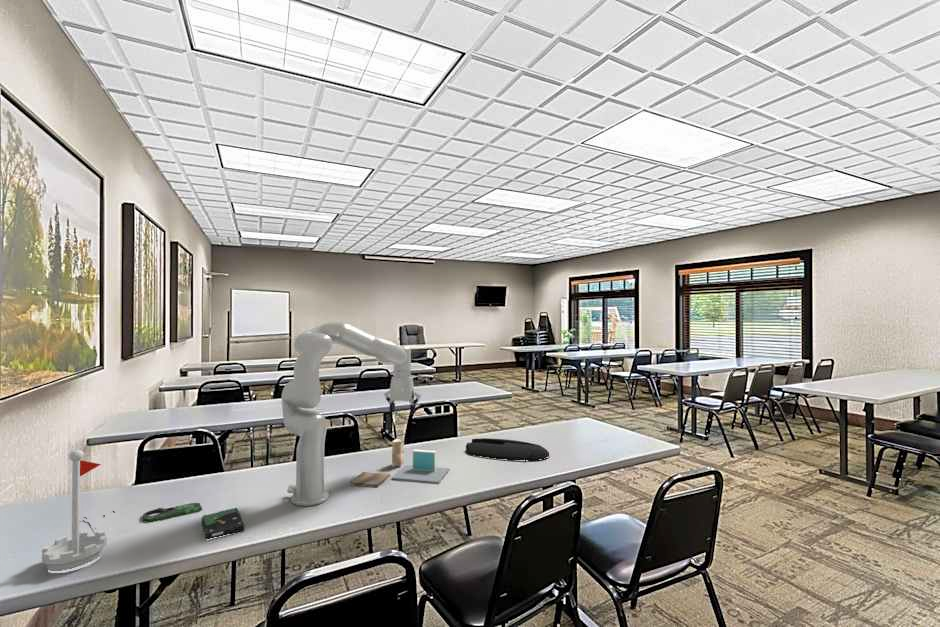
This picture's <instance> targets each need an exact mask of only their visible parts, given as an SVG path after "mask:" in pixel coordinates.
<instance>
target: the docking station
mask: <svg viewBox="0 0 940 627" xmlns="http://www.w3.org/2000/svg"><path fill="white" fill-rule="evenodd" d="M465 451H466V453H467V454H468V453H469V454H470V455H469V454H468V455H469V456H471V455H475V456H474V457H476V456H482V457H489V458H496V459H507V460H525V461H526V460H539V459H544V458H546V457H548V456H549V454H550V453H549V451H548V450H547V449H546V448H545V447H543V446H542V445H540V444H536V443H532V442H526V441H520V440H513V439H505V438H504V439H503V438H489V437H488V438H487V437H485V438H484V437H483V438H482V437H481V438H472V439H471V442H467V443H466V444H465ZM482 457H481V458H482ZM549 457H550V456H549ZM496 459H495V460H496Z"/></svg>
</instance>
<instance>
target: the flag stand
mask: <svg viewBox="0 0 940 627" xmlns="http://www.w3.org/2000/svg"><path fill="white" fill-rule="evenodd" d="M68 457H69V460H70V461H72V475H71V477H72V479H71V481H72V482H71V484H72V485H71V492H72V493H71V538H68V536H66V535H65V536H62V537H59V538H57V539H54V543H53V545H52V544H45V546H43V547H42V549H41V562H42V563H44V564H46V570H47V569H48V570H50V571H62V570H67V569H72V568H75V567H78V566H81V565H84V564H86V563H88V562H91V561H93V560H95V559H97V558H98V557H100V556H101V554H102V553H103V551H102V550H103V549H104V548H105V547H106V546H107V543H108V540H107V538H108V537H107V536H108V535H107V534H106V532H105V531H103V530H96V532H95V533H94V534H90V530H89V531H85V530H84V531H80V521H79V520H80V519H79V516H80V502H81V501H80V499H81V498H80V497H81V496H80V495H81V494H80V493H81V485H80V484H81V481H80V480H81V477H82V476H84V475H85V474H87V473H89V472H91V471H92V470H94V469H96V468H97V467H99V466H101V465H102V464H101V463H96V462H92V461H86V460H82V459H83V457H84V452H83V451H82V450H80V449H75V450H72V451H71V452H70V453H69V455H68ZM101 557H102V556H101Z"/></svg>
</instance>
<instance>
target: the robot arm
mask: <svg viewBox="0 0 940 627" xmlns="http://www.w3.org/2000/svg"><path fill="white" fill-rule="evenodd" d="M333 344H335V345H339V346H342V347H344V348H346V349H349V350H351V351H354V352H355V353H358V354H360V355H364V356H368V357H369V356H370V357H375V359H376V361H377V362H378V363H379V364H382V365H392V366H393V370H392V371H390V374H391V375H393V376H392V377H391V380H390V386H389V390H388V391H386V392H384V393H383V395H384V396H385V400H386V401H387V402H388V404H389V413H390V414H393V413H394V412H396V402H397V401H398V402H408V403H409V404H410V405H409V415H411V416H412V415H414V414H416V405H417V404H418V402H419V401H420V399H421V397H422V394H420V393H418V392H417V391H415V384H414V379H413V377H412V355H411V354H412V350H411V347H410V346H407V345H398V344H395V343H394V342H391V341H390V340H389V341H388V340H385V339H383V338H380V337H378V336H374V335H371V334H369V333H367V332H364V330H361V329H358V328H357V327H355V326H353V325H351V324H348V323H346V322H341V321H340V322H339V321H329V322H326V323H322V324H321V325H318V326H315V327H313V328H311V329H308V330H306V331H304V332H301V333H300V334H298V335H297V336H296V337H295V340H294V342H293V347H294V349H295V351H296V352H297V353H298V354H299V355H298V356H297V357H296V359H295V362H294V365H293V366H294V367H293V380H291V381H288V382H287V383H286V384H285V385H284V387H283V389H282V393H281V406H282V408H281V409H282V417H283V424H284V427H285V430H286V431H287V432H288V433H290V434H293V435H295V436H298V437H299V440H298V442H297V446H296V453H295V454H296V455H295V457H296V460H295V461H296V462H295V463H296V465H295V466H296V468H295V469H296V470H295V472H296V474H295V476H296V477H295V478H296V480H295V482H296V483H295V485H293V484H289V486H288V488H287V490H286V492H287V493H288V494H293V495H292V497H291V501H290V502H291V504H293V505H295V506H298V507H309V506H316V505H320V504H322V503H324V502H325V501H327V500H328V498H329V492H328V491H326V490H325V442H326V435H327V431H328V430H327V429H328V422H327V419H326V417H325V416H324V415H323V414H321V413H320V412H319V411H314V410H310V409H314V408H316V407H318V406H319V405H320V404H319V403H320V402H321V397H322V394H321V382H320V366H321V363H322V361H323V359H324V358H325V357H326V356H327V355H328V354H329V353H330V352H331V349H332V347H333ZM415 397H416V398H415ZM395 401H396V402H395Z"/></svg>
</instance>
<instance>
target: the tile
mask: <svg viewBox="0 0 940 627" xmlns="http://www.w3.org/2000/svg"><path fill="white" fill-rule="evenodd" d="M412 465H413V470H424V471H436V467H437V450H425V449H413V450H412Z"/></svg>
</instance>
